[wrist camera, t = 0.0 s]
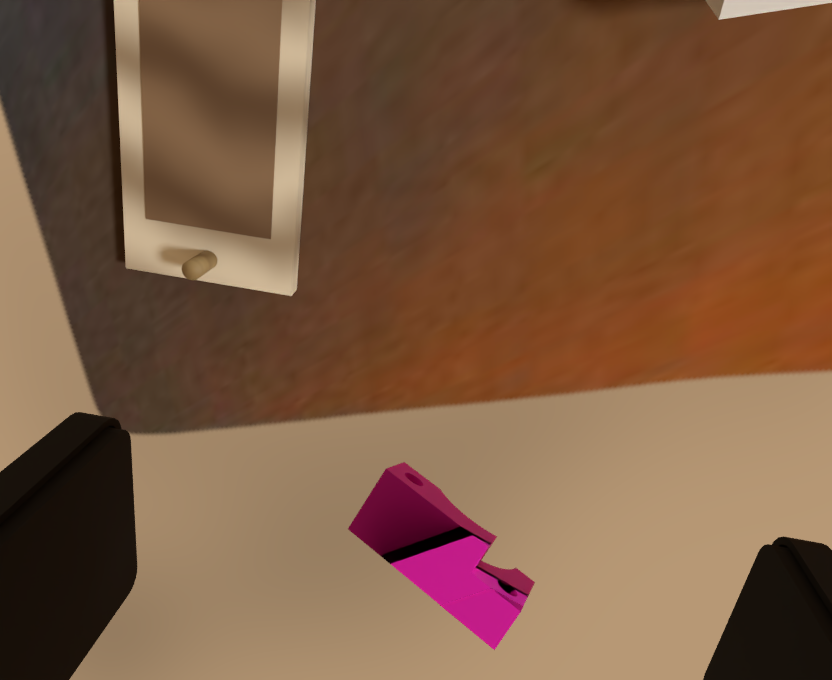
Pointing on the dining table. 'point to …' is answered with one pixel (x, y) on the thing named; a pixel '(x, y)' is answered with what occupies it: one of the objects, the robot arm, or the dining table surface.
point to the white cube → (756, 6)
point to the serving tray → (214, 137)
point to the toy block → (441, 552)
